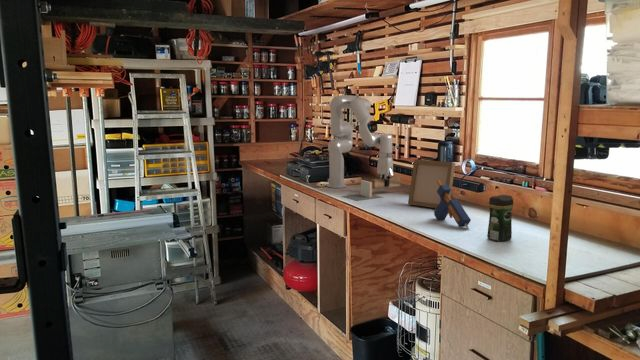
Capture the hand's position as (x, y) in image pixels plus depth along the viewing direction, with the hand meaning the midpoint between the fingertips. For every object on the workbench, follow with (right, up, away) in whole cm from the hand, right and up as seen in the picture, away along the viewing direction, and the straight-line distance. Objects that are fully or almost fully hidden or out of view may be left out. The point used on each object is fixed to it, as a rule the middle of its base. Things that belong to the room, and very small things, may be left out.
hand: (384, 185), depth 298 cm
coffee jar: (+35, -22, -92) cm, 101 cm away
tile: (-12, -6, -7) cm, 15 cm away
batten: (+1, -1, +1) cm, 1 cm away
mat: (-14, -7, -8) cm, 18 cm away
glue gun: (+23, -17, -67) cm, 73 cm away
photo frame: (+22, -11, -30) cm, 39 cm away
